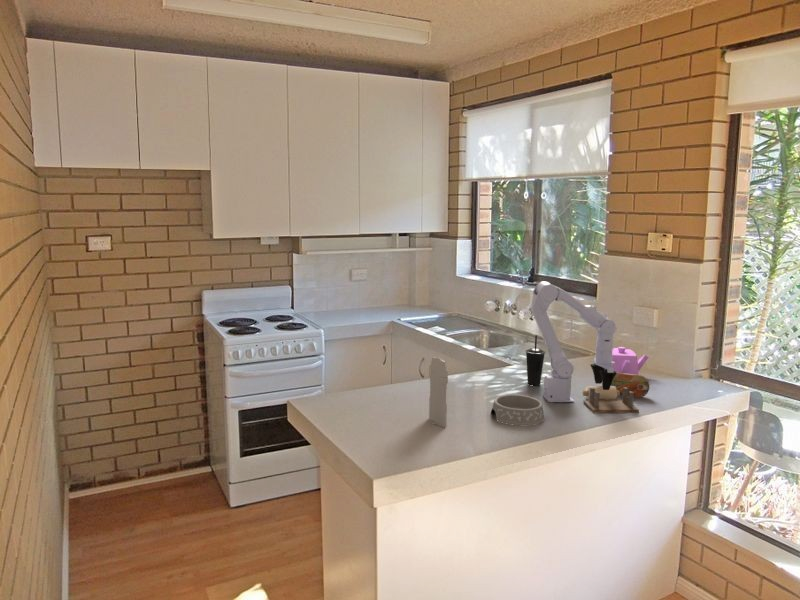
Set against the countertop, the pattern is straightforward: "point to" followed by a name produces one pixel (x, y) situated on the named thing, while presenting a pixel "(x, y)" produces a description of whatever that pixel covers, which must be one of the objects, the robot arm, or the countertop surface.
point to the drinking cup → (534, 364)
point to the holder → (611, 403)
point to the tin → (631, 384)
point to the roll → (602, 392)
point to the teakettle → (627, 361)
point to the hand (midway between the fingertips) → (602, 386)
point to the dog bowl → (518, 410)
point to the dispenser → (438, 392)
